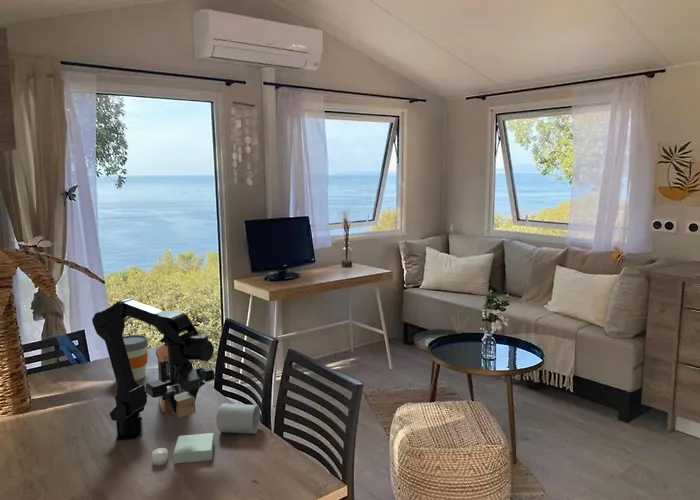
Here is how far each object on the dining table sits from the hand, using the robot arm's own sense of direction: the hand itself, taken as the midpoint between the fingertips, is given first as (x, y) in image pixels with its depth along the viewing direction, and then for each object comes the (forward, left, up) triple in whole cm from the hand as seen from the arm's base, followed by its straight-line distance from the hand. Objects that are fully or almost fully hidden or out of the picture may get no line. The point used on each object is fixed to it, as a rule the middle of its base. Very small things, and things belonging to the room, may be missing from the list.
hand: (183, 409), depth 159 cm
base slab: (+3, -4, -12) cm, 13 cm away
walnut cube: (0, 0, -1) cm, 1 cm away
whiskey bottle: (-7, +30, -12) cm, 33 cm away
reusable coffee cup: (-27, +60, -12) cm, 67 cm away
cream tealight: (-6, -7, -12) cm, 15 cm away
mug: (+10, +10, -8) cm, 16 cm away
